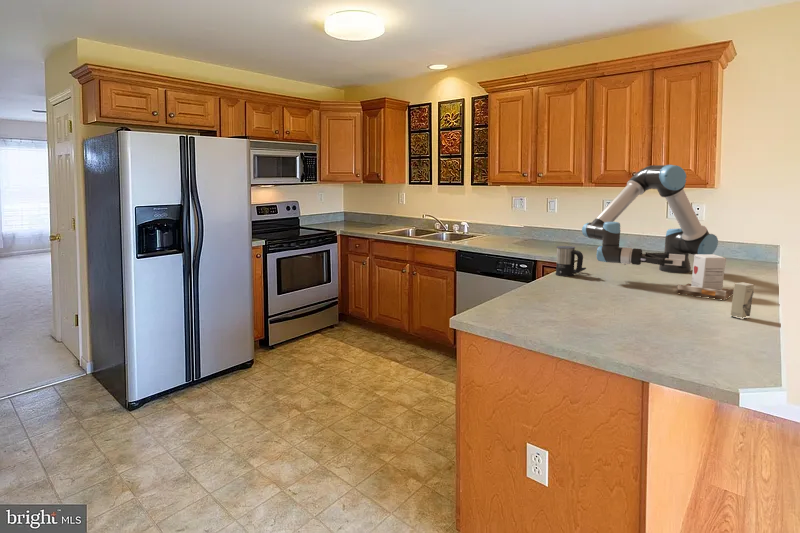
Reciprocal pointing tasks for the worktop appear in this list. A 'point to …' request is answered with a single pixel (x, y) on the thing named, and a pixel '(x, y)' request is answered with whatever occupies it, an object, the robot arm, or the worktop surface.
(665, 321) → the worktop surface
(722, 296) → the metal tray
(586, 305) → the worktop surface
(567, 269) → the milk frother
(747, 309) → the box
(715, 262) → the supplement box
